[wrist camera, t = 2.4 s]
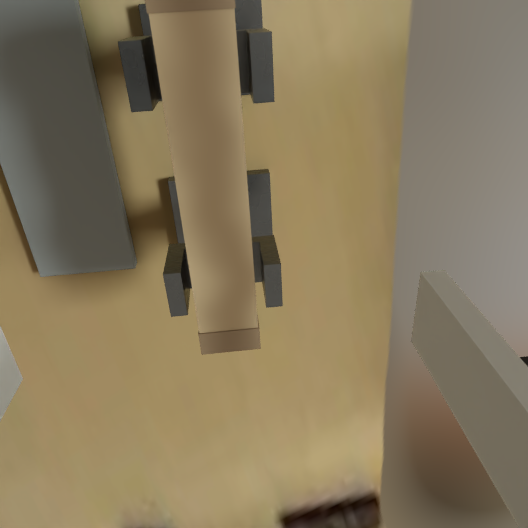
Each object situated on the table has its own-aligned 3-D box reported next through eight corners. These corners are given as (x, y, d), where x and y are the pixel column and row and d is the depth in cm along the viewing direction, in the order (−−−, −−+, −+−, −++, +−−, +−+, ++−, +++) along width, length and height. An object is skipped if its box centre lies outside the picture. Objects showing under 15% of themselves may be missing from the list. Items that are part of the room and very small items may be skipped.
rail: (203, 318, 31) (201, 354, 28) (151, -27, 21) (139, -33, 18) (256, 313, 31) (260, 348, 28) (230, -31, 21) (232, -38, 18)
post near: (156, 98, 33) (125, 144, 22) (140, 4, 30) (95, 3, 19) (264, 91, 33) (287, 132, 22) (259, -3, 30) (283, -9, 19)
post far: (180, 243, 39) (165, 337, 28) (169, 177, 36) (147, 252, 25) (271, 235, 39) (292, 324, 28) (268, 169, 36) (290, 239, 25)
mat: (-54, -11, 29) (-62, -12, 28) (74, -19, 29) (69, -20, 28) (44, 270, 39) (40, 276, 38) (137, 262, 40) (135, 268, 39)
